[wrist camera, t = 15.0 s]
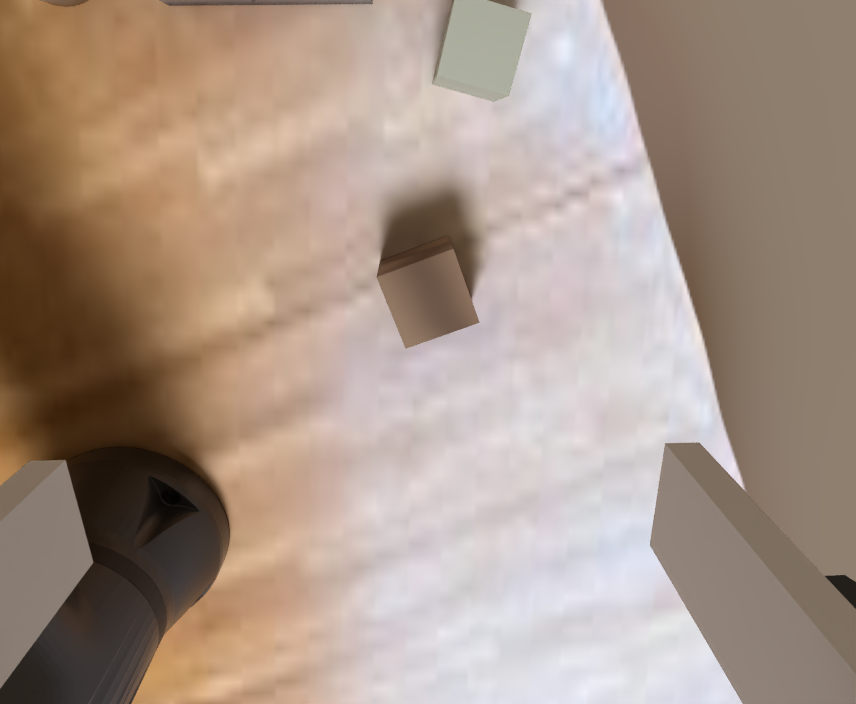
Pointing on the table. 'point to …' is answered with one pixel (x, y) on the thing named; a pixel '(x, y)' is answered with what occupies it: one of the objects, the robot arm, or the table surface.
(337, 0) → the slate tray
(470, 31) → the sage block
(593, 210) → the table surface
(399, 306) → the walnut block
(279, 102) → the table surface
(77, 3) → the pale grey rounded cylinder
